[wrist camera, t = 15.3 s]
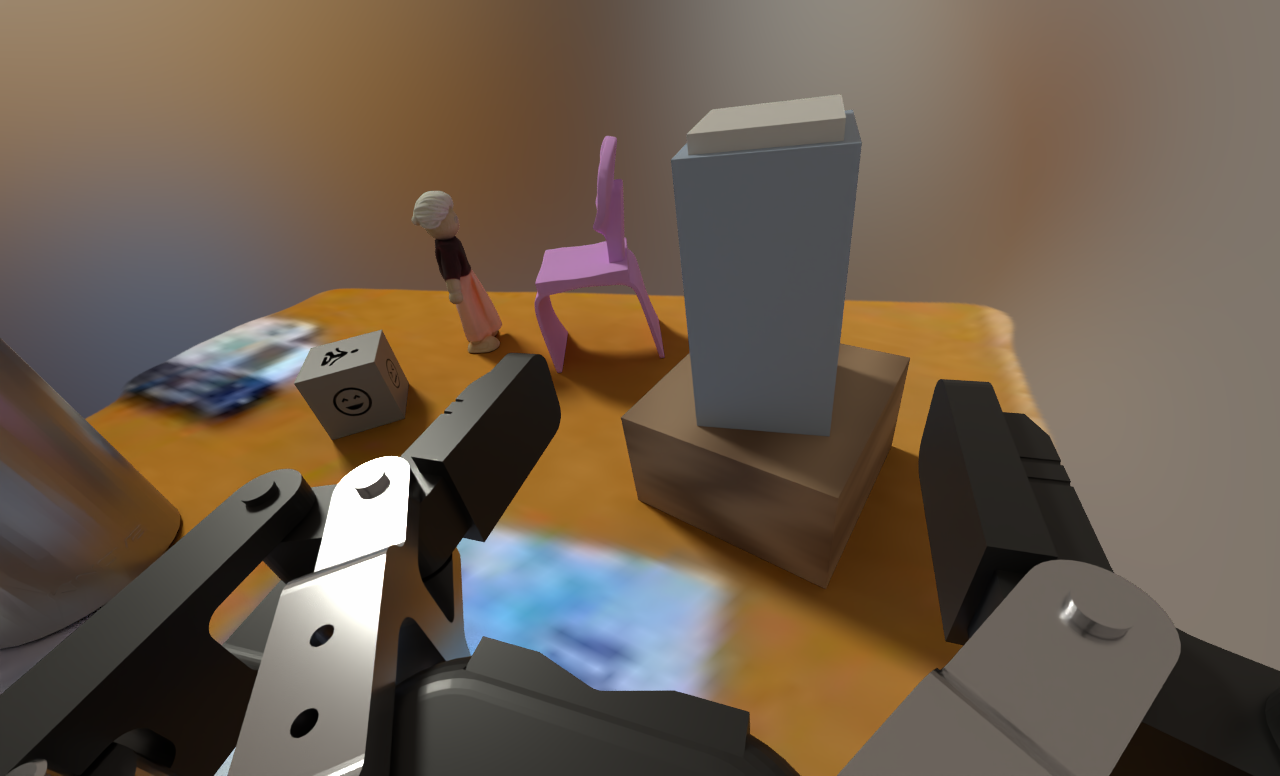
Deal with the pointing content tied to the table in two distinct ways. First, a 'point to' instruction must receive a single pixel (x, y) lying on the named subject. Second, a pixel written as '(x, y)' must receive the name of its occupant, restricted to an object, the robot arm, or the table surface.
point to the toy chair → (593, 262)
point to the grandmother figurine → (458, 272)
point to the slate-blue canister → (767, 260)
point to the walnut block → (770, 465)
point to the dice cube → (354, 384)
